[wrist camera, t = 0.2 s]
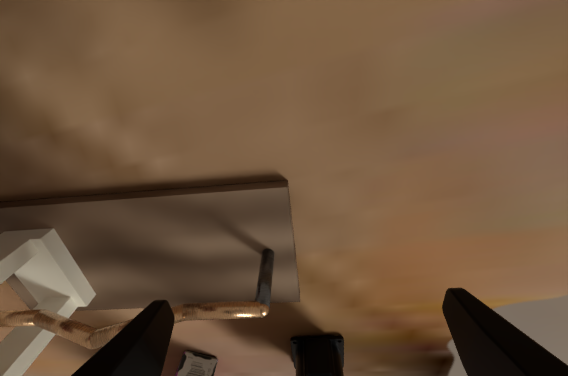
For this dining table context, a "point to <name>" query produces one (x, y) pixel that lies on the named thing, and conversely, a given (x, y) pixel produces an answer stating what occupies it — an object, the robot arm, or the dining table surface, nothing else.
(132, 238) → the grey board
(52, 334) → the hollow square tube
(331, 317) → the dining table surface
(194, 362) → the candy bar box
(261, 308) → the bent copper wire
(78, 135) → the dining table surface
